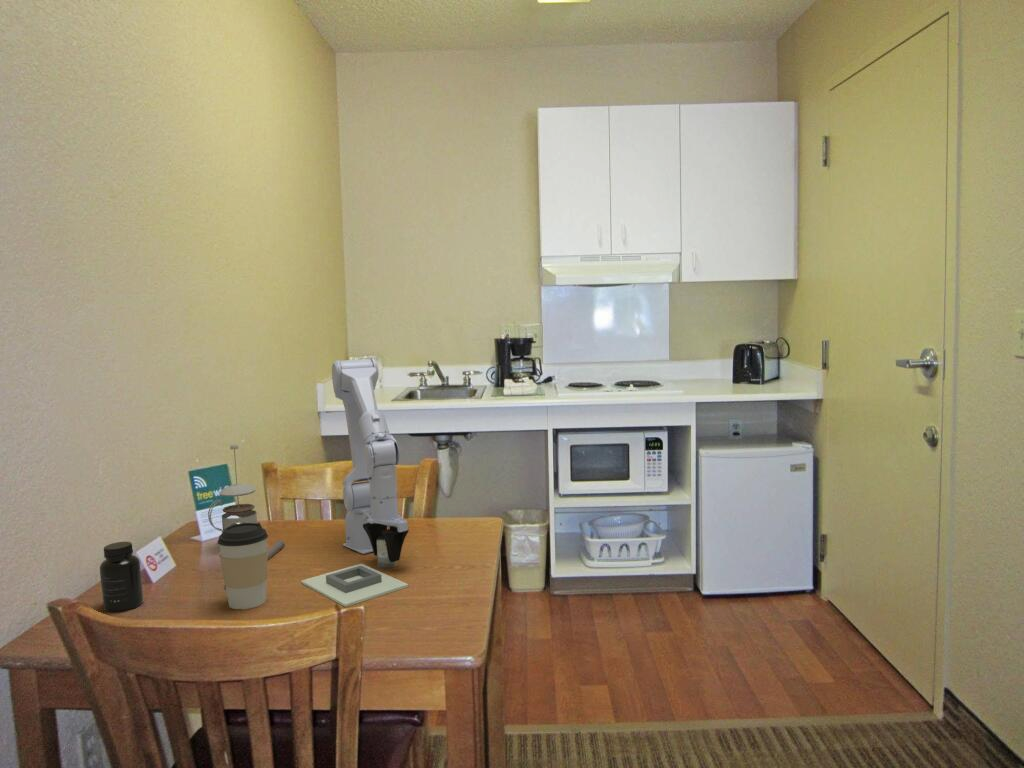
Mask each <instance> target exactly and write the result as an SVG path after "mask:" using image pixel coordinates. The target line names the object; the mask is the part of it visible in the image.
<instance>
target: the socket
mask: <svg viewBox="0 0 1024 768" xmlns="http://www.w3.org/2000/svg"><path fill="white" fill-rule="evenodd" d="M300 581H301V582H300V583H301V584H302V585H304V586H305V587H308V588H310V589H311V590H312V591H313V590H314V591H315V592H317V593H318V594H321V595H323V596H324V597H326V598H328V599H330V600H331V601H333V602H334V603H335V602H336V603H337V604H339V605H340V606H343V607H345V608H347V607H350V606H353V605H357V604H358V603H362V602H365V601H369V600H371V599H372V600H373V599H375V598H379V597H380V596H384V595H388V594H390V593H393V592H396V591H400V590H403V589H406V588H408V587H409V584H408V583H406V582H404V581H402V580H399V579H397V578H394V577H393V576H391V575H388V574H386V573H383V572H381V571H379V570H377V569H375V568H372V567H371V566H368V565H366V564H363V563H358V564H355V565H351V566H347V567H344V568H342V569H341V568H340V569H337V570H334V571H330V572H325V573H324V574H319V575H316V576H313V577H308V578H305V579H302V580H300Z"/></svg>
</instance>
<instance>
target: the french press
mask: <svg viewBox="0 0 1024 768" xmlns="http://www.w3.org/2000/svg"><path fill="white" fill-rule="evenodd" d="M229 449H230V450H233V453H234V455H233V456H234V458H236V450H238V449H239V445H238V444H237V443H232V444H230V447H229ZM236 463H237V461H236V459H234V470H235V481H236V482H235V484H234V483H233V484H231V485H228V486H227V487H226V486H225V487H224V488H223V489H221V490H220V491H219V492H218V493H219V496H220V497H224V498H225V497H229V498H230V497H236V499H237V504H231V505H228V506H225V507H224V508H223V509H222V512H223V514H222V515H221V524H222V529H221V528H220V527H216V526H215V525H214V523H213V521H212V513H213V508H215V506H216V505H217V504H218V503H219V505H220V506H221V507H222V506H223V502H224V501H223V500H222V499H220V498H218V499H216V500H215V501H213V502H212V503H211V504H210V506H209V509H208V511H207V517H208V521H209V524H210V525H211V527H213V528H214V529H215V530H216V531H220V532H221V534H222V533H223V531H224V529H225V528H227V527H229V526H232V525H236V524H242V523H258V518H257V517H258V516H257V511H256V510H254V509H255V505H254V504H252V503H240V502H239V497H241V496H247V495H251V494H254V493H255V492H256V488H255V487H254V486H252V485H249V484H246V483H238V477H237V475H238V474H237V464H236ZM231 516H233V517H234V516H235V517H237V518H235V517H234V518H232V517H231ZM229 517H231V518H229Z"/></svg>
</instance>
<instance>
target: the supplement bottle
mask: <svg viewBox="0 0 1024 768" xmlns="http://www.w3.org/2000/svg"><path fill="white" fill-rule="evenodd" d="M133 553H134V549H133V543H132V542H130V541H118V542H113V543H112V542H111V543H109V544H107V545H105V546H104V547H103V557H104V560H103V561H102V562H101V564H100V566H99V576H100V584H101V585H100V586H101V594H102V595H101V596H102V605H103V608H104V610H105V611H107V612H109V613H119V612H126V611H130V610H133V609H135V608H137V607H139V606H141V604H142V603H143V602H144V590H143V580H142V573H141V571H142V570H141V563H140V558H138V556H136V555H135V554H133Z"/></svg>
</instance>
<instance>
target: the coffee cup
mask: <svg viewBox="0 0 1024 768" xmlns="http://www.w3.org/2000/svg"><path fill="white" fill-rule="evenodd" d="M218 536H219V537H218V540H217V544H218V546H219V547H218V548H219V557H220V559H219V560H220V563H221V571H222V576H223V583H224V585H225V586H226V589H225V590H226V596H227V602H228V607H229V608H230V609H233V610H238V609H241V610H248V609H249V610H251V609H254V608H257V607H259V606H262V605H264V604H265V603H266V602H267V580H268V560H267V556H268V549H269V548H268V537H269V534H268V533H267V530H266V529H265V528H263V526H262V525H261V523H260V522H257V523H236V525H232V526H229V527H227V528H225V529H224V531H223V533H222V532H221V533H220V535H218ZM241 610H240V611H241Z"/></svg>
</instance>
